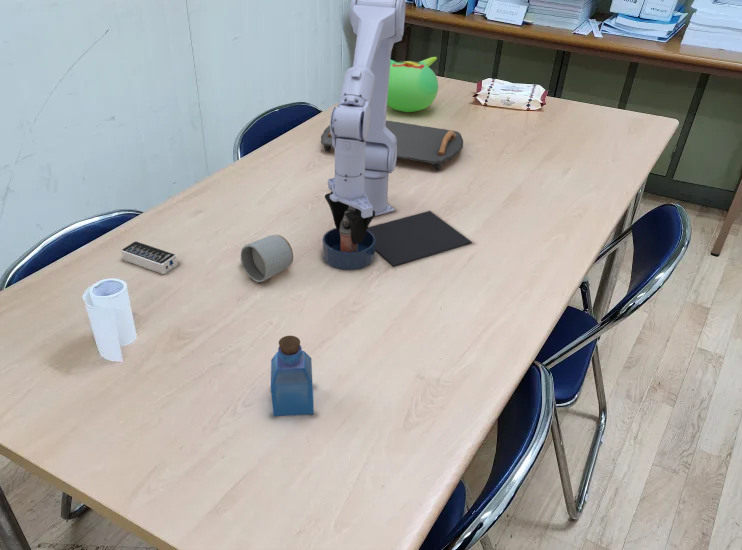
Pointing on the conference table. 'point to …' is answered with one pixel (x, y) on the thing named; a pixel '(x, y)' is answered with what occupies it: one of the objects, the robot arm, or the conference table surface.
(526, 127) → the conference table surface
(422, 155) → the serving tray
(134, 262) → the multiport hub
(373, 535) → the conference table surface
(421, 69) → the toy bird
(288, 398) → the perfume bottle
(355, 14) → the robot arm
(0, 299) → the conference table surface
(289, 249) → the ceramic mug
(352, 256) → the blue round dish
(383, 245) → the desk mat
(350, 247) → the lighter
